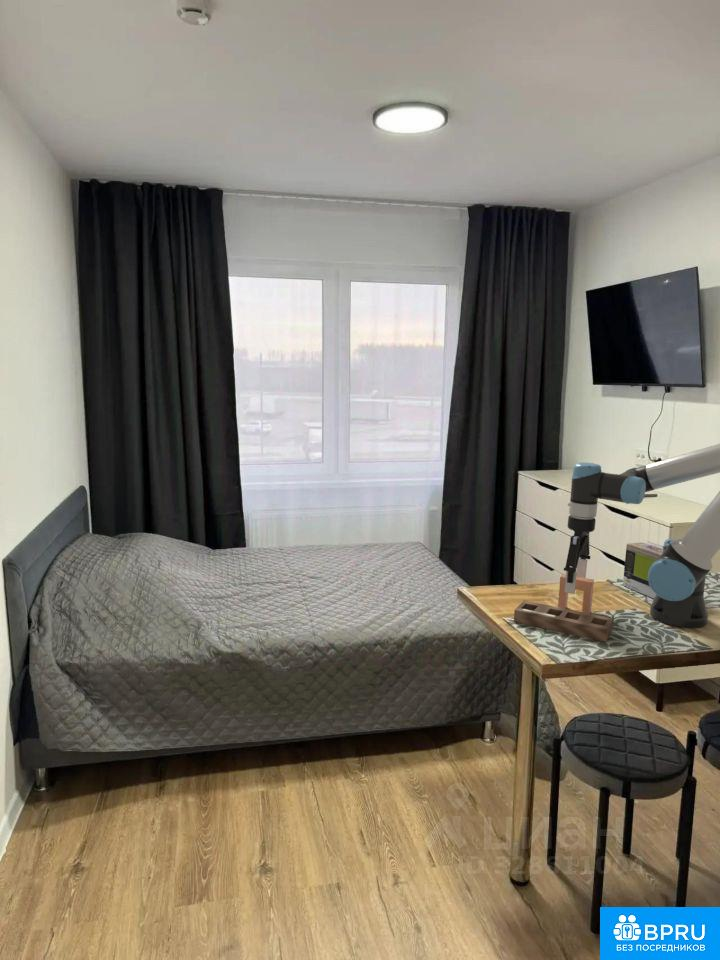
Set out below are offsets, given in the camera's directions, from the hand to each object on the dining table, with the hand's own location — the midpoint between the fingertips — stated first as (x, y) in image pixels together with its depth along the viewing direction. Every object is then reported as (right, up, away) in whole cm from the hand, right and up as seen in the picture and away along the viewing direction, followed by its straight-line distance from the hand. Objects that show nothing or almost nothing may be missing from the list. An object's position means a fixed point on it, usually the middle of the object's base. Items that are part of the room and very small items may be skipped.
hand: (575, 586), depth 195 cm
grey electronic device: (+31, -5, +19) cm, 36 cm away
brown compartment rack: (-7, -9, -11) cm, 16 cm away
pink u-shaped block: (0, -7, +1) cm, 7 cm away
